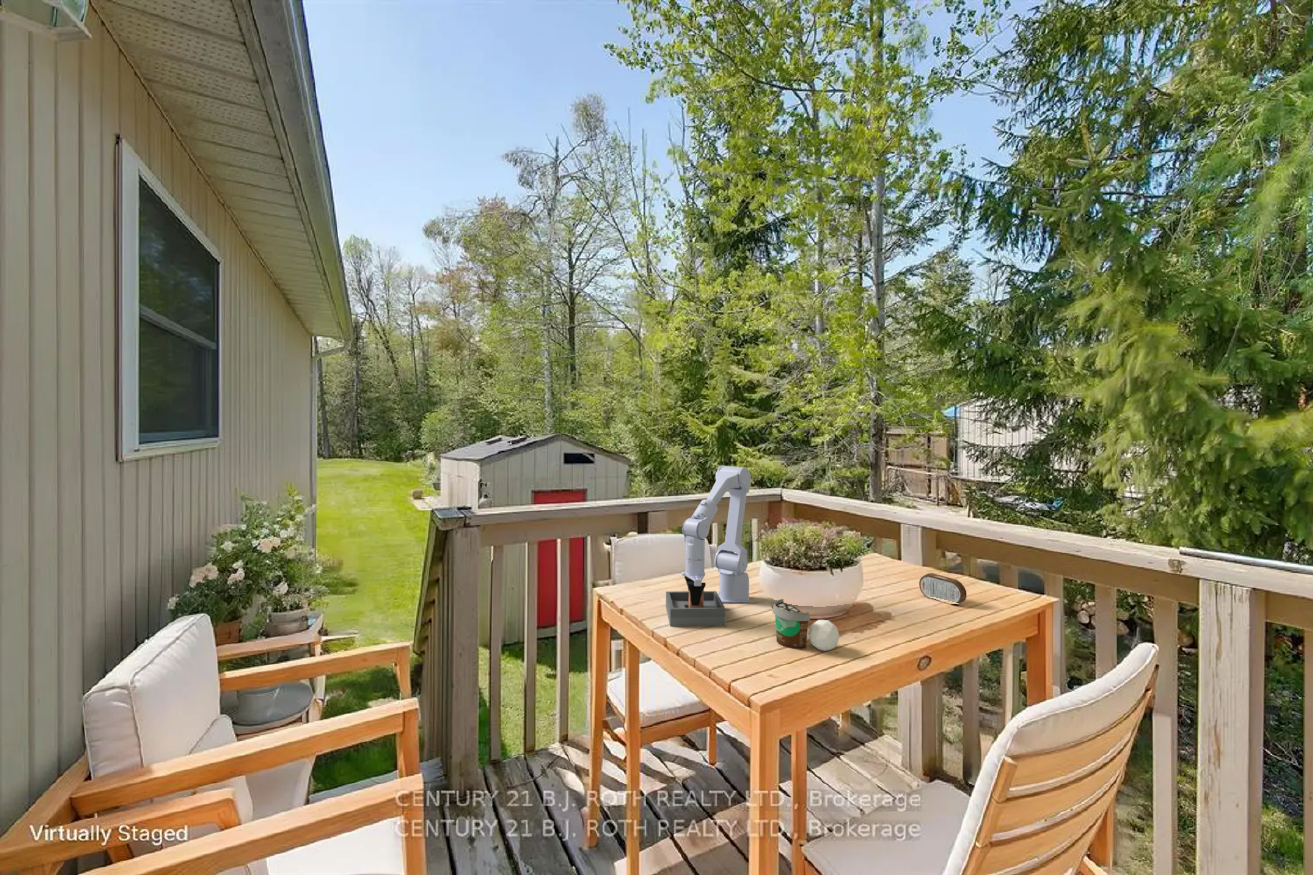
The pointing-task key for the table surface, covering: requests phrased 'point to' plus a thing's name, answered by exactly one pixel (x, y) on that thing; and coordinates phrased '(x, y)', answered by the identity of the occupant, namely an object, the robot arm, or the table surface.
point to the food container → (790, 625)
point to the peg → (699, 603)
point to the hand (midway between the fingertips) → (694, 602)
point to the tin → (942, 588)
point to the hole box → (694, 610)
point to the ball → (823, 635)
